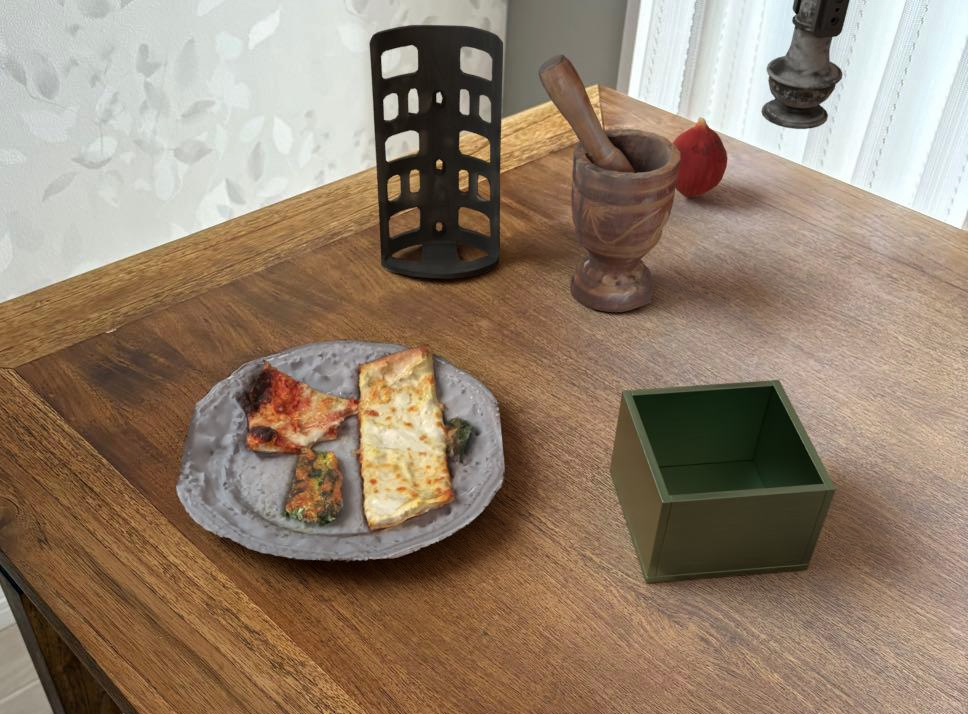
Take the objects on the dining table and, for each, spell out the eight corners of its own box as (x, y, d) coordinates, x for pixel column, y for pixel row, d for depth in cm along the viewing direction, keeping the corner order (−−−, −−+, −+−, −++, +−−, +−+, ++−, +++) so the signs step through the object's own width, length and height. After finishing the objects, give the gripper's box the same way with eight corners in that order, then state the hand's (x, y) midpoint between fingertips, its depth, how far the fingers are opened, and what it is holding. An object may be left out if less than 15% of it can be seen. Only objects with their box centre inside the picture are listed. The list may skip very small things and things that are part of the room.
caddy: (756, 460, 83) (779, 379, 78) (807, 570, 75) (836, 489, 70) (609, 471, 82) (622, 390, 77) (645, 583, 75) (662, 502, 69)
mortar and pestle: (533, 321, 95) (551, 93, 81) (521, 266, 101) (535, 44, 87) (666, 316, 96) (707, 88, 82) (646, 261, 102) (681, 40, 88)
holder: (383, 286, 99) (375, 51, 86) (373, 249, 104) (364, 22, 91) (505, 277, 100) (515, 43, 87) (488, 240, 106) (496, 16, 93)
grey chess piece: (846, 118, 90) (889, -40, 82) (796, 137, 88) (834, -23, 79) (792, 91, 94) (828, -63, 85) (742, 110, 91) (773, -47, 83)
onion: (730, 196, 110) (747, 118, 104) (697, 218, 107) (713, 140, 101) (681, 176, 113) (695, 99, 107) (648, 197, 110) (660, 119, 104)
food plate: (210, 359, 92) (204, 323, 89) (492, 357, 92) (493, 321, 89) (164, 585, 75) (154, 549, 72) (510, 582, 75) (513, 546, 72)
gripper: (980, -220, 69) (898, 60, 81) (891, -269, 78) (830, -12, 91) (862, -215, 68) (798, 65, 81) (788, -265, 78) (740, -8, 90)
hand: (815, 23), depth 86 cm, fingers closed on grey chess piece, 3 cm apart
